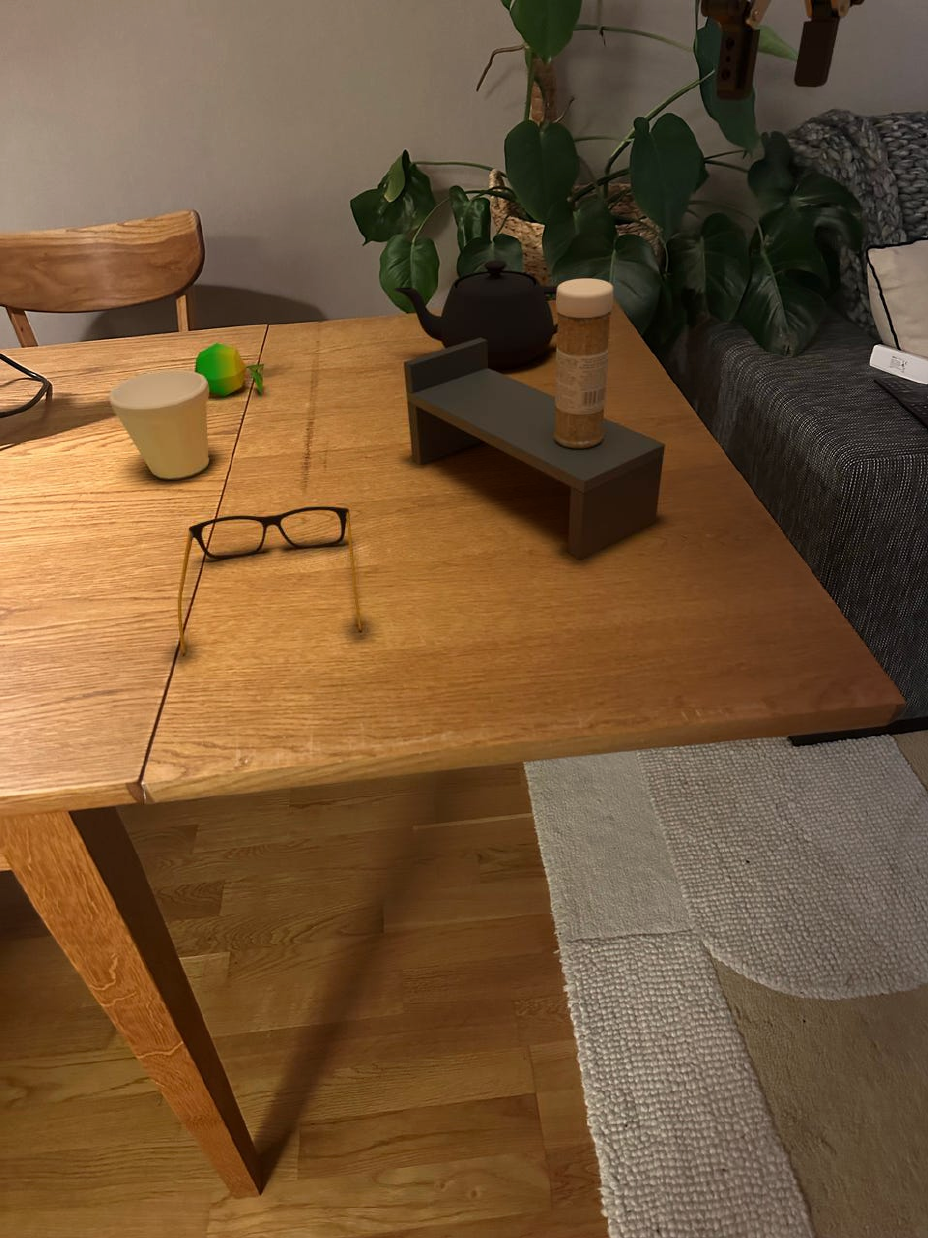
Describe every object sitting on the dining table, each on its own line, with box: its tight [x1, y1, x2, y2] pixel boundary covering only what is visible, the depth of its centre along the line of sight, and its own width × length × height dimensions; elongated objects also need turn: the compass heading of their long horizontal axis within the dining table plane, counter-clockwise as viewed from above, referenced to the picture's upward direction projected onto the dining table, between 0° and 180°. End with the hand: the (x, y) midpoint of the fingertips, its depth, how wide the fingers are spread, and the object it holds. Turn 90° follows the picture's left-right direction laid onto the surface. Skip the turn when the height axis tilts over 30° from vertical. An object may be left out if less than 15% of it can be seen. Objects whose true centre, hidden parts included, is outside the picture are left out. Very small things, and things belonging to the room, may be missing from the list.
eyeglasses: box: [177, 505, 362, 654], centre depth 69 cm, size 14×14×4 cm
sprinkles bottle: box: [554, 278, 614, 448], centre depth 69 cm, size 5×5×13 cm
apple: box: [194, 342, 265, 397], centre depth 104 cm, size 7×6×9 cm
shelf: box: [403, 338, 666, 561], centre depth 79 cm, size 26×10×11 cm, turn 38°
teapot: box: [393, 259, 559, 370], centre depth 108 cm, size 25×16×12 cm, turn 93°
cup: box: [107, 369, 210, 481], centre depth 86 cm, size 10×10×9 cm
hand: (772, 92), depth 55 cm, fingers open, 8 cm apart
